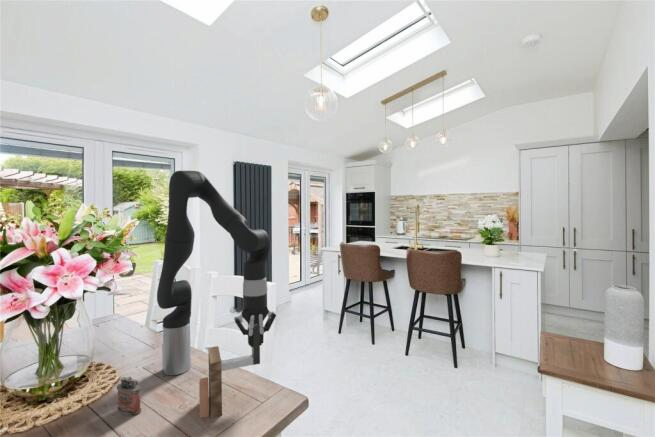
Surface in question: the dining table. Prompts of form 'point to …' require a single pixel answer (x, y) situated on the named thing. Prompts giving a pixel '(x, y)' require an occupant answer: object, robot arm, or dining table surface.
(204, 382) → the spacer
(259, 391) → the dining table surface
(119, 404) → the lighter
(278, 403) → the dining table surface
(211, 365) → the block
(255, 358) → the l-shaped bracket
